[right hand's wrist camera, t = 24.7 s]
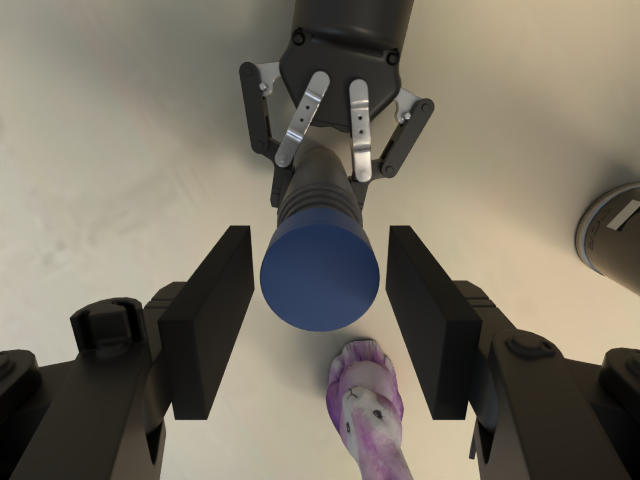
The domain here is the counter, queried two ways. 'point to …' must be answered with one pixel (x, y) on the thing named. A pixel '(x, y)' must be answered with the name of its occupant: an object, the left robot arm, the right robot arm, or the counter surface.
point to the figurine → (368, 410)
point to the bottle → (319, 187)
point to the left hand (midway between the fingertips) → (313, 218)
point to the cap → (319, 270)
